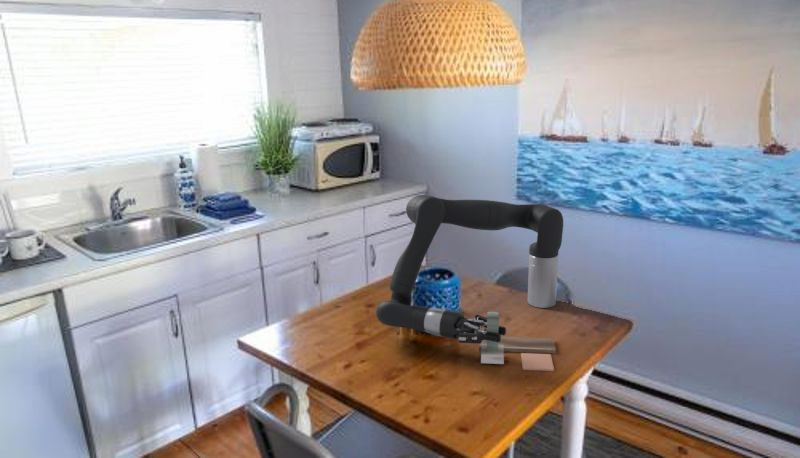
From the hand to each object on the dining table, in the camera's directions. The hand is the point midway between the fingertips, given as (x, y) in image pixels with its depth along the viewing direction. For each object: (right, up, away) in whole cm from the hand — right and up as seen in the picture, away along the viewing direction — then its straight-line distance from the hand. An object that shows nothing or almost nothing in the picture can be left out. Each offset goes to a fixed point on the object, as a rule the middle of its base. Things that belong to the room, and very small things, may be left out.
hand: (502, 334), depth 151 cm
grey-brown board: (+6, -5, +11) cm, 14 cm away
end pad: (+10, -8, +2) cm, 13 cm away
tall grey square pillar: (-2, -7, +3) cm, 8 cm away
